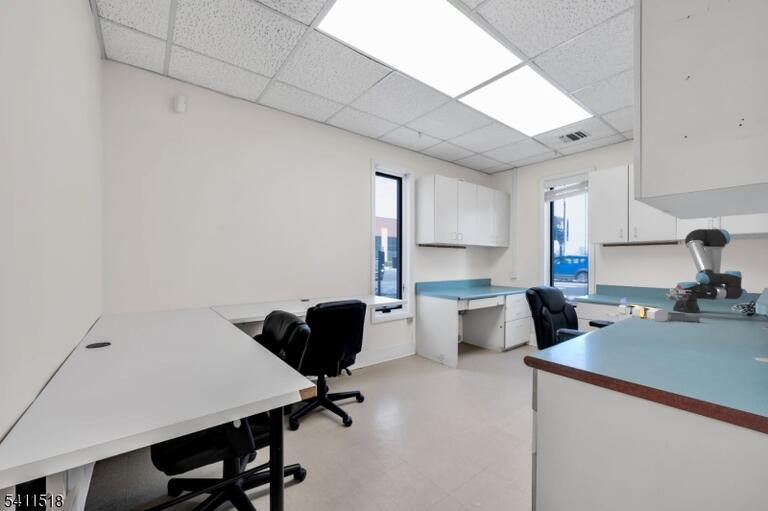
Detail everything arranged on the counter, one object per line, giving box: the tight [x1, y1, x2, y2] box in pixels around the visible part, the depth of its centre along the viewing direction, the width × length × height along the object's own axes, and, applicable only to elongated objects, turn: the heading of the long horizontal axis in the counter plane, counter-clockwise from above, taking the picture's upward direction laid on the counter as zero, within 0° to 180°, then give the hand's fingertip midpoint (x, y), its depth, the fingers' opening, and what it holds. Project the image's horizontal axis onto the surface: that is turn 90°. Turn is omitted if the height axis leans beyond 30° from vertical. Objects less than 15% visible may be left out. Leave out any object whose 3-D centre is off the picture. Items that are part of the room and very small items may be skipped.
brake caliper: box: [665, 285, 689, 301], centre depth 220 cm, size 11×11×12 cm
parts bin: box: [667, 311, 700, 324], centre depth 205 cm, size 15×16×4 cm
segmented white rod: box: [618, 296, 669, 322], centre depth 210 cm, size 25×10×13 cm, turn 10°
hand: (674, 290), depth 221 cm, fingers closed on brake caliper, 11 cm apart
